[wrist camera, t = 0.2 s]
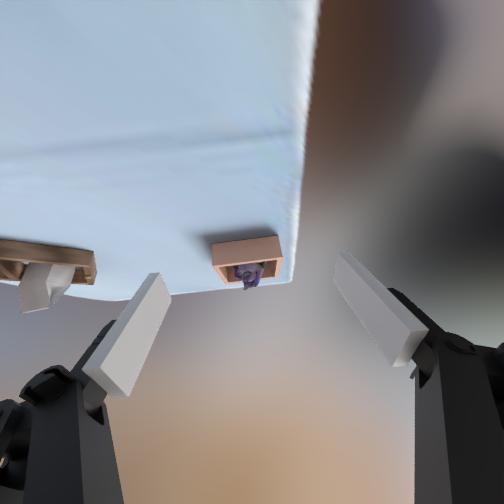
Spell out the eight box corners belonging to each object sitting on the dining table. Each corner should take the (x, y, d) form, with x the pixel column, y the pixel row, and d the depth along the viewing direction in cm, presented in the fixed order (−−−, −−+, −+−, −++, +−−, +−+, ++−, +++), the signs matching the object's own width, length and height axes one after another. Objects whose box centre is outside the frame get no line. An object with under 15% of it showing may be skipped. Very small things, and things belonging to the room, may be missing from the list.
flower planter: (211, 243, 38) (212, 266, 36) (278, 235, 38) (282, 257, 36) (224, 266, 50) (225, 284, 48) (275, 259, 50) (278, 277, 47)
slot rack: (-83, 258, 31) (-98, 277, 30) (-160, 218, 22) (-186, 242, 21) (97, 273, 45) (93, 286, 43) (94, 251, 36) (89, 267, 34)
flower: (283, 270, 38) (244, 297, 38) (275, 268, 47) (243, 290, 46) (259, 233, 38) (219, 259, 38) (255, 238, 47) (223, 259, 46)
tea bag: (31, 259, 36) (6, 311, 31) (57, 252, 35) (36, 305, 30) (53, 265, 39) (34, 313, 35) (78, 259, 38) (62, 308, 33)
